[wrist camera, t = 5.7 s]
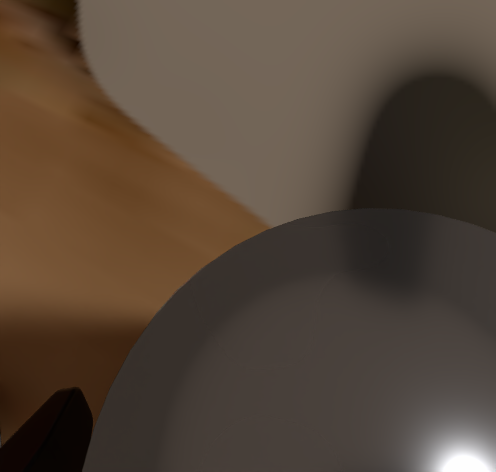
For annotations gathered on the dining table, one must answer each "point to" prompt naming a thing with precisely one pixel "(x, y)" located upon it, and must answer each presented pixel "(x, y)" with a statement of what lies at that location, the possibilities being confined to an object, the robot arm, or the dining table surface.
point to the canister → (318, 355)
